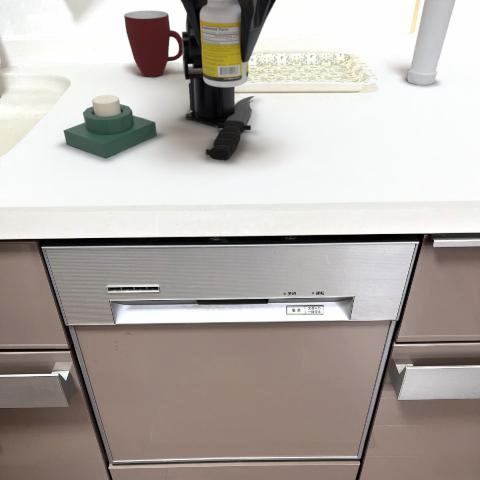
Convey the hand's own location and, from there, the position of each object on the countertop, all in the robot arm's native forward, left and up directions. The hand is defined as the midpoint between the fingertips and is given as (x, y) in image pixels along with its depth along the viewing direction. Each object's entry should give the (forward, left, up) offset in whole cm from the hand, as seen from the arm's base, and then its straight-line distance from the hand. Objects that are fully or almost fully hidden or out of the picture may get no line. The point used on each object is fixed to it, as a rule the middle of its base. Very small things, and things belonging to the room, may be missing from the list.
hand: (224, 57), depth 55 cm
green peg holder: (+17, +4, -12) cm, 22 cm away
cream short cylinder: (+17, +4, -9) cm, 20 cm away
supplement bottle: (0, 0, -3) cm, 3 cm away
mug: (+35, -25, -13) cm, 45 cm away
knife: (+6, -11, -13) cm, 18 cm away
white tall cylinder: (-9, -51, -13) cm, 53 cm away
